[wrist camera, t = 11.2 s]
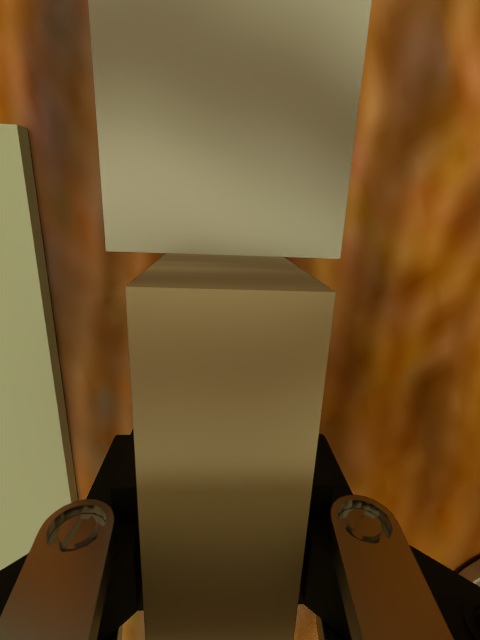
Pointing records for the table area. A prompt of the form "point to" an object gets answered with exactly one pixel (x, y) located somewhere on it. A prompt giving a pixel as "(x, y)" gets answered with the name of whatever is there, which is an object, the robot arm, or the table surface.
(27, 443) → the board
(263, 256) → the turner
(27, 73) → the table surface
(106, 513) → the robot arm
